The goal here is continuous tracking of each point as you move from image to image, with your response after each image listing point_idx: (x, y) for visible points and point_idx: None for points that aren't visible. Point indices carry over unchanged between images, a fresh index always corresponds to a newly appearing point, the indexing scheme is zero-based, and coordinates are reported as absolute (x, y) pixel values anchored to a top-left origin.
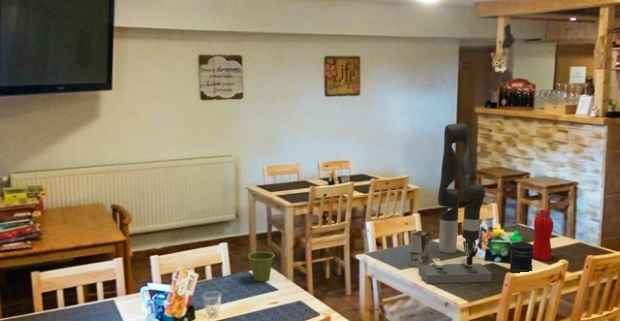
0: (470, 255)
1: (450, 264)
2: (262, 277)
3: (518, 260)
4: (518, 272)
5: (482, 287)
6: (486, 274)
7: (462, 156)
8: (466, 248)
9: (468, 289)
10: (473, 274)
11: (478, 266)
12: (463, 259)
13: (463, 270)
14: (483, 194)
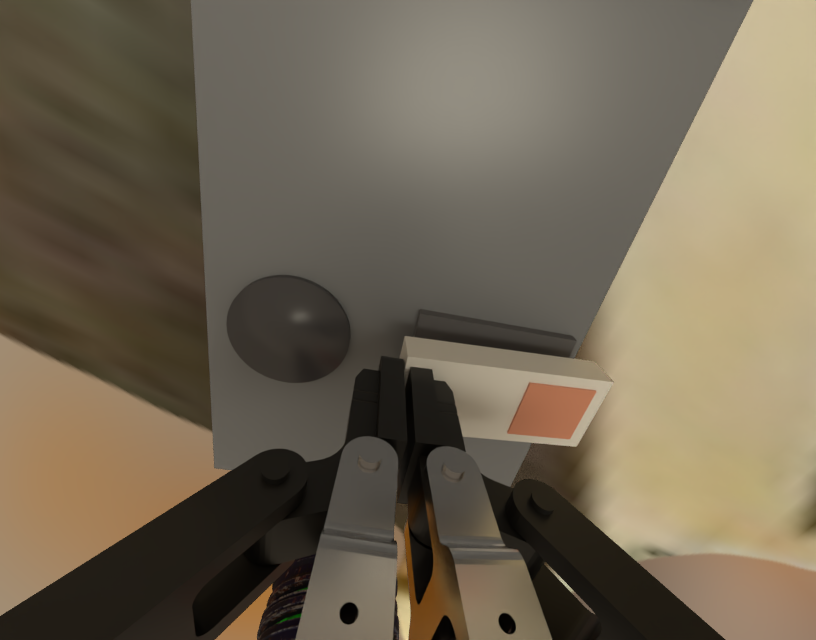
0: (203, 489)
1: (637, 205)
2: None
3: None
4: (277, 604)
5: (102, 276)
6: (217, 420)
7: None
8: (465, 632)
9: (13, 87)
10: (208, 298)
11: None
12: (576, 397)
13: (354, 249)
14: None
